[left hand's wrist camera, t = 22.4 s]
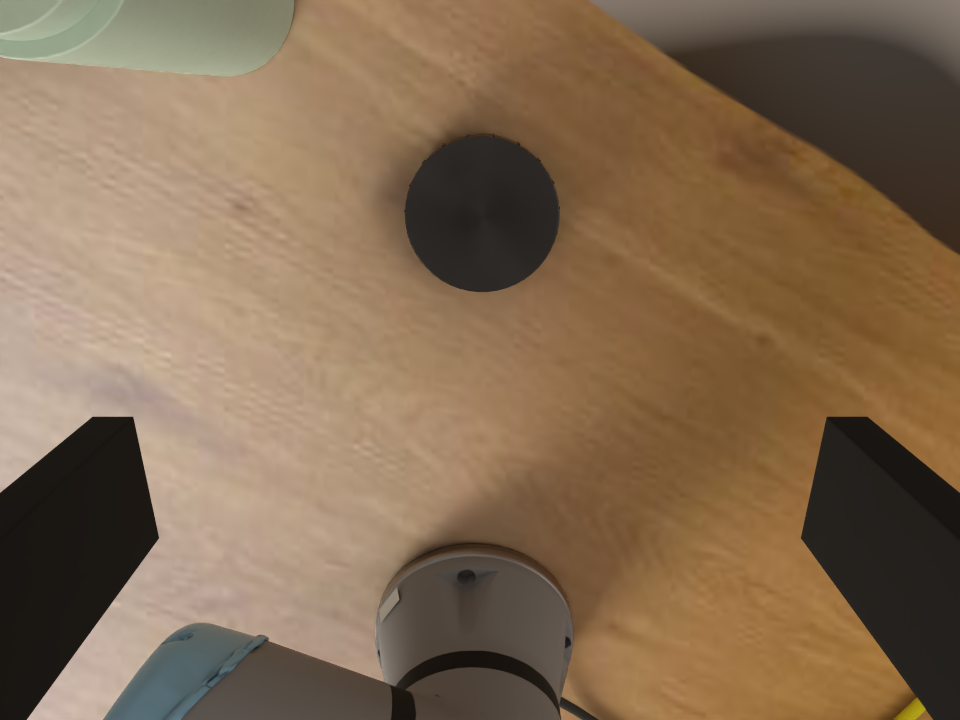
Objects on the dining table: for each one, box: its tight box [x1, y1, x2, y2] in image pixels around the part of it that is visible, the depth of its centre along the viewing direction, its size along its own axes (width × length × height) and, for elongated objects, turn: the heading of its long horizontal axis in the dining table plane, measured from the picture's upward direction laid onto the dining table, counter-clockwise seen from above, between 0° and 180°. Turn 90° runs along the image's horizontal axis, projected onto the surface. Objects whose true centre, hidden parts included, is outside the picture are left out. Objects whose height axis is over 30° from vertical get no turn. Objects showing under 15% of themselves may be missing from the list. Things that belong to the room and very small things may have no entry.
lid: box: [404, 134, 560, 292], centre depth 40 cm, size 9×9×2 cm
